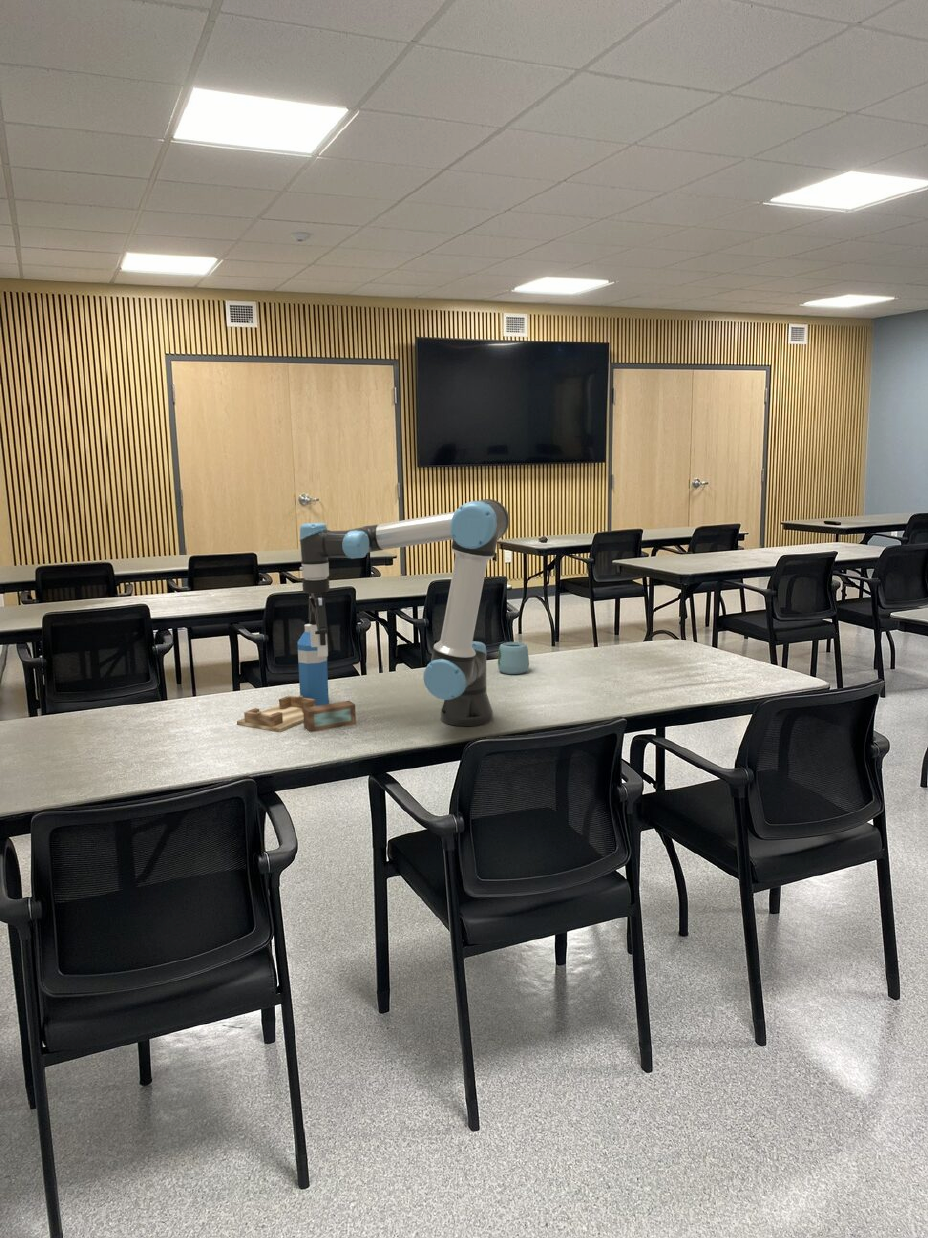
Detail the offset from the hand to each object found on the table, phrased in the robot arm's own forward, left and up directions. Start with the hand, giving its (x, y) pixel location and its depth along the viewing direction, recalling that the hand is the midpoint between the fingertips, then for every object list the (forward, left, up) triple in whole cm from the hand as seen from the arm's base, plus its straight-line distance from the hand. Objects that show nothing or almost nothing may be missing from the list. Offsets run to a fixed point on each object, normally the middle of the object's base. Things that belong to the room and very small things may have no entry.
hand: (319, 651), depth 258 cm
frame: (-5, +3, -21) cm, 22 cm away
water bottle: (+13, -13, -21) cm, 28 cm away
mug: (-24, -78, -21) cm, 84 cm away
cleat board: (+12, +4, -21) cm, 24 cm away
